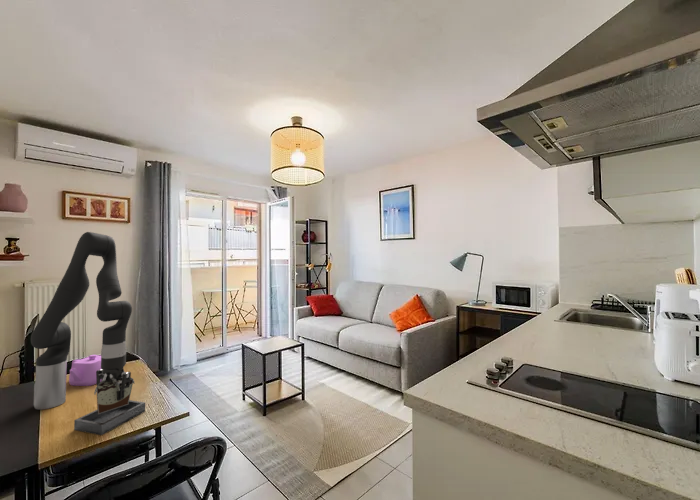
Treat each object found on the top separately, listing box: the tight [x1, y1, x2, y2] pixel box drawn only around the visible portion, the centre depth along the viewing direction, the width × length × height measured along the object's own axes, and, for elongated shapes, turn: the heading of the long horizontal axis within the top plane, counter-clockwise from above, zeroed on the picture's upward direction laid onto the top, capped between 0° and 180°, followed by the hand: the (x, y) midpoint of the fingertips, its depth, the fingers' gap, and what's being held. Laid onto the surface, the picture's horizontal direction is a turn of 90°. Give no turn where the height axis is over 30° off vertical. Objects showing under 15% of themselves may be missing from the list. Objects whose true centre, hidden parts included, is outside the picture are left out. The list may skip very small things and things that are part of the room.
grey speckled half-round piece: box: [93, 377, 135, 414], centre depth 117 cm, size 12×6×10 cm, turn 144°
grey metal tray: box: [73, 399, 146, 436], centre depth 116 cm, size 12×17×4 cm
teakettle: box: [68, 354, 102, 387], centre depth 152 cm, size 17×17×12 cm
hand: (112, 398), depth 116 cm, fingers closed on grey speckled half-round piece, 6 cm apart
